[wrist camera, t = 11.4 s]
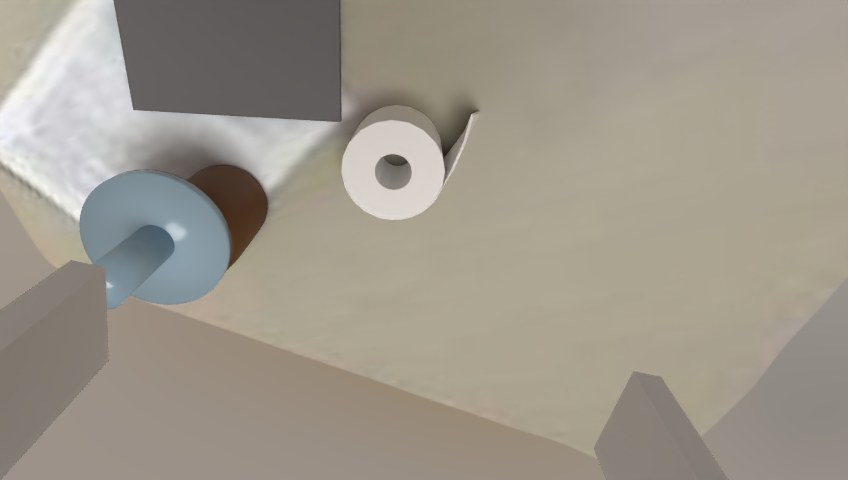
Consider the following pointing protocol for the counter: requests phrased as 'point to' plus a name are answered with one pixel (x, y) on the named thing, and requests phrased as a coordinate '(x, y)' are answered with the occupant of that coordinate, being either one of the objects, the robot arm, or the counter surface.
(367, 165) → the toilet paper
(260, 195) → the mug
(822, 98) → the counter surface
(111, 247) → the lid
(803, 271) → the counter surface
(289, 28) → the mat
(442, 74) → the counter surface
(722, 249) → the counter surface
